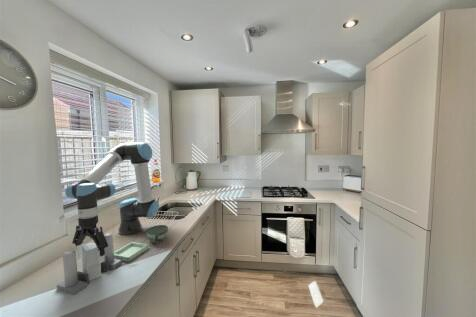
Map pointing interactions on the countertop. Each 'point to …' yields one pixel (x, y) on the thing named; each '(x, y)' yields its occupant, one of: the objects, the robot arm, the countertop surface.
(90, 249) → the skincare box
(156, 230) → the bowl
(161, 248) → the countertop surface
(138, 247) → the tray
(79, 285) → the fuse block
